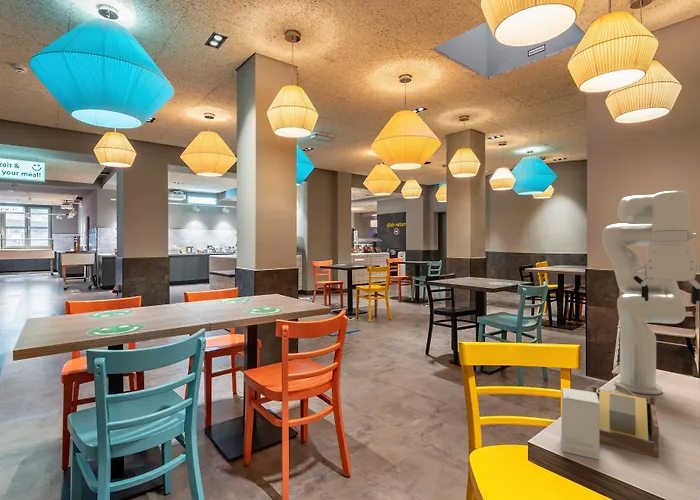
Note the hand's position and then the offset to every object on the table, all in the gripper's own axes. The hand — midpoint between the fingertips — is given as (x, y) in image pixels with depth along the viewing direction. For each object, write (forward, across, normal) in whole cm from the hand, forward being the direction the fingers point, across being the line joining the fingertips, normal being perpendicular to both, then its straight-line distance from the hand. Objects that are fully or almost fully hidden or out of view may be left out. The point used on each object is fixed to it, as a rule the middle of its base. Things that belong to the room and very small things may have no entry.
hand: (669, 302), depth 100 cm
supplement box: (+33, +18, +29) cm, 47 cm away
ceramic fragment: (+33, +9, -11) cm, 36 cm away
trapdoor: (+29, +10, +14) cm, 33 cm away
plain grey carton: (+29, +10, +16) cm, 35 cm away
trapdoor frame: (+32, +10, +15) cm, 37 cm away
